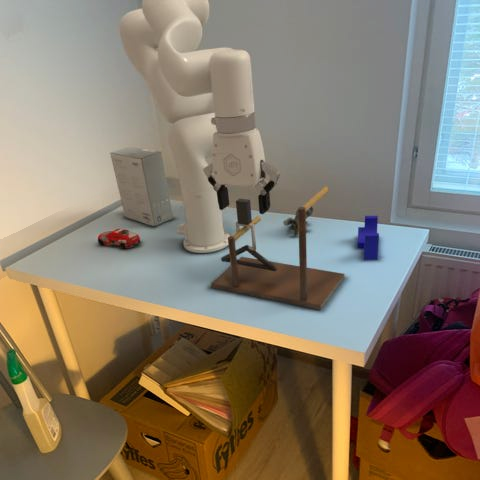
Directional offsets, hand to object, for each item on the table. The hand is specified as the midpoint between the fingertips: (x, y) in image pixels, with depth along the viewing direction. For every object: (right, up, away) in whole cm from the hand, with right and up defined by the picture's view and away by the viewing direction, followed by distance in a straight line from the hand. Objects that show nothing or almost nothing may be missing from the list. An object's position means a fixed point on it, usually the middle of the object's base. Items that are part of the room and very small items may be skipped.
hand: (244, 209), depth 103 cm
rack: (+7, -15, +6) cm, 18 cm away
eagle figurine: (+15, +1, +29) cm, 33 cm away
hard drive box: (-29, +8, +47) cm, 56 cm away
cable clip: (+30, -6, +16) cm, 35 cm away
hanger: (+1, -11, +8) cm, 13 cm away
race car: (-34, -2, +33) cm, 48 cm away
